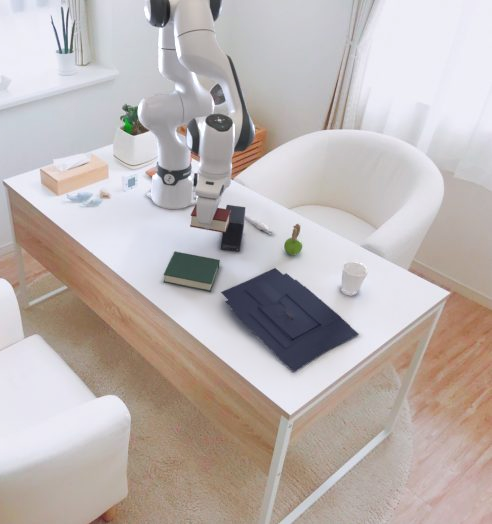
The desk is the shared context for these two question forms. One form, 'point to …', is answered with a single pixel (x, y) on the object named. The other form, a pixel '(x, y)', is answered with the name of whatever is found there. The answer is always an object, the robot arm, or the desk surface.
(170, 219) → the desk surface
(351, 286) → the cup
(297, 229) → the snail figurine
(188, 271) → the hardcover book
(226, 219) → the pocket dictionary
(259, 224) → the stylus pen
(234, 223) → the small box
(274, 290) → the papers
